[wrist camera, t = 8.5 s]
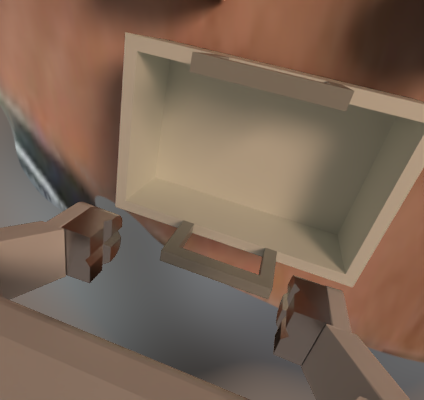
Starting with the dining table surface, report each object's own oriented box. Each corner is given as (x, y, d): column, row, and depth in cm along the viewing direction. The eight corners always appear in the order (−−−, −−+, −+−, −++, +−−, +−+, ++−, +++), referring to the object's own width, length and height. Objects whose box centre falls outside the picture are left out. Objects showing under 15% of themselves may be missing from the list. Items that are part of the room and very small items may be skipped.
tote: (413, 98, 19) (504, 127, 11) (341, 239, 25) (363, 333, 16) (167, 39, 22) (81, 24, 13) (151, 178, 27) (82, 232, 19)
